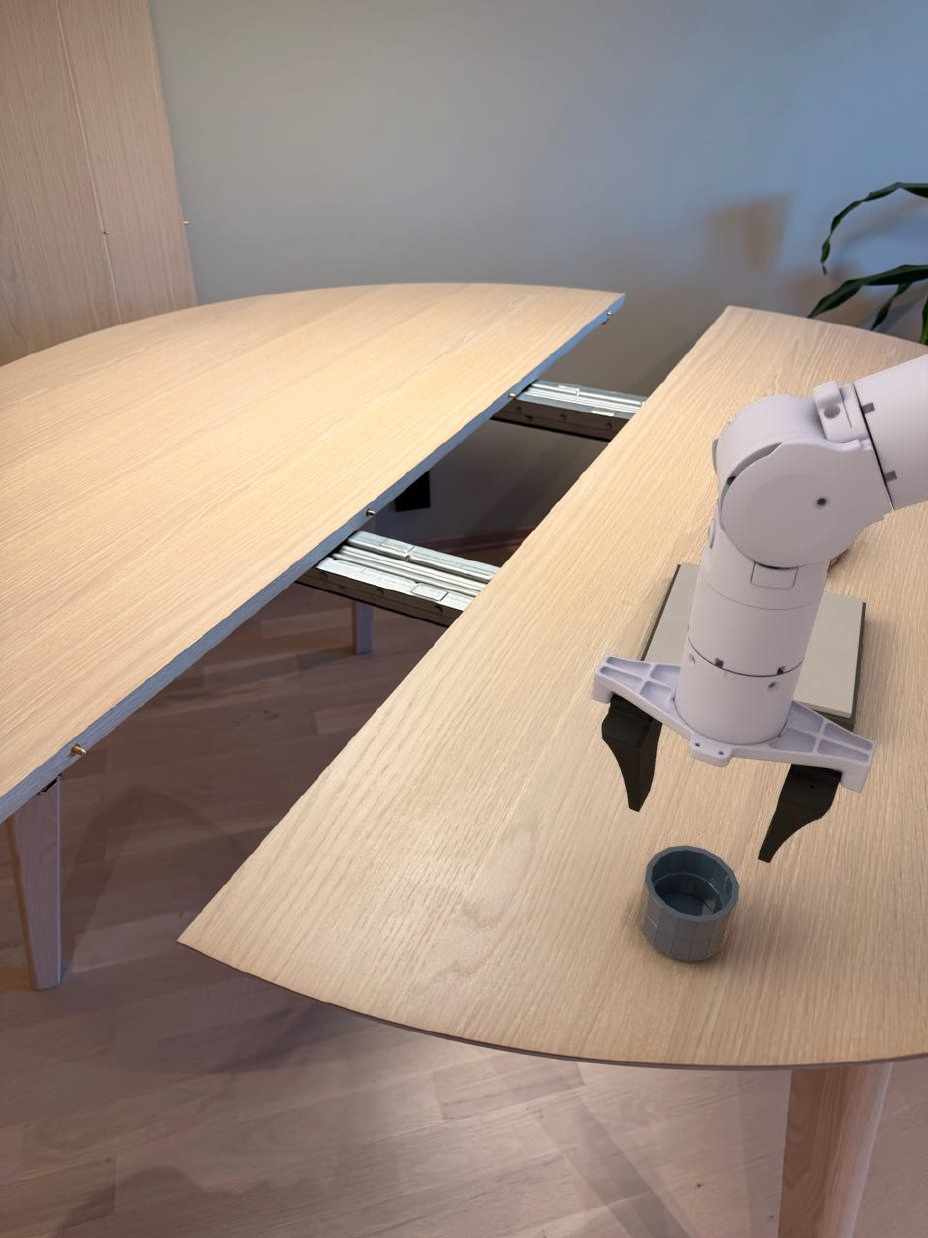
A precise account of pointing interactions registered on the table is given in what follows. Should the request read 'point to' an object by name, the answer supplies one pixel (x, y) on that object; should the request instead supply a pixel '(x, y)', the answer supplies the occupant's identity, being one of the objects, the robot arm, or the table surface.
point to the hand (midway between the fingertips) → (701, 823)
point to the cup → (687, 903)
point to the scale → (827, 658)
